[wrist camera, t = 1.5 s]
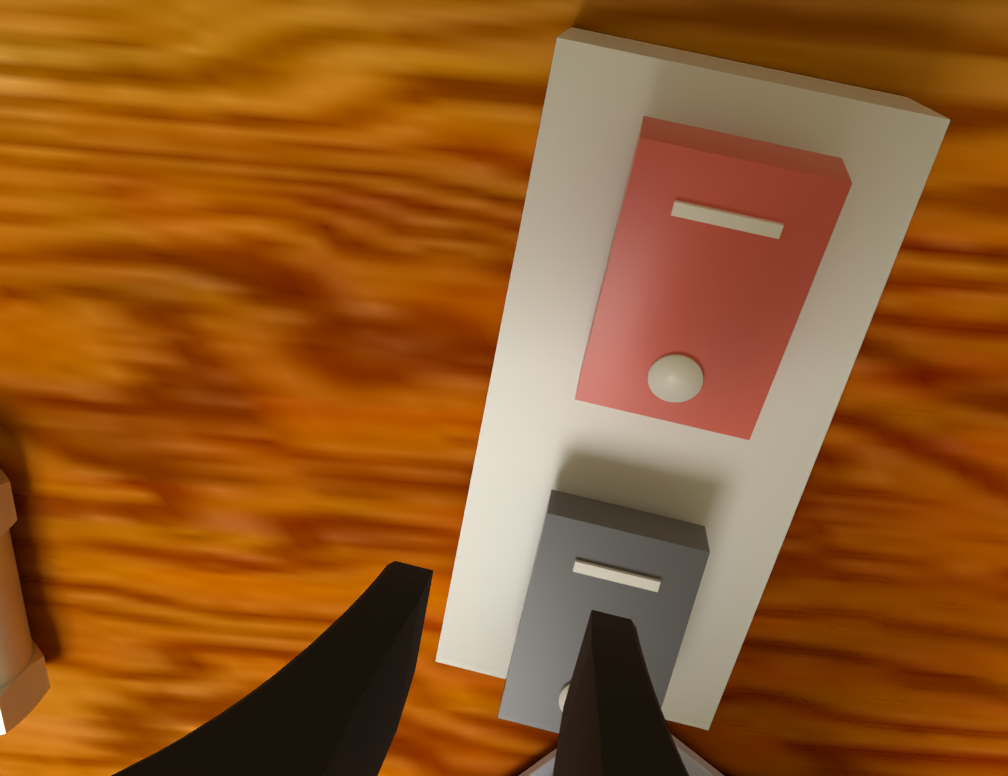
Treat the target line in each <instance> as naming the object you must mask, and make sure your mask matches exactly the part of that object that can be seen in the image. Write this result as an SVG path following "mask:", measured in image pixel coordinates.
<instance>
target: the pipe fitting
mask: <svg viewBox="0 0 1008 776" xmlns="http://www.w3.org/2000/svg"><path fill="white" fill-rule="evenodd" d="M16 521H17V515H16V510H15V505H14V500H13V495H12V489H11V484H10V481H9V479H8V478H7V477H6V475H5V474H4V472H3V471H2V470H1V469H0V735H2V734H5V733H7V732H8V731H10V730H11V729H12V728H14V727H15V726H16V725H17V724H19V723H20V722H21V721H22V720H23V719H24V718H25V717H26V716H27V715H28V714H29V713H30V712H31V711H32V710H33V709H34V707H35V706H36V705H37V704H38V703H39V702H40V700H41V699H42V698H43V696H44V695H45V694H46V692H47V691H48V689H49V688H50V685H49V679H48V674H47V669H46V664H45V659H44V655H43V654H42V652H41V651H40V649H39V648H38V646H37V645H36V643H35V642H34V641H33V639H32V638H31V635H30V630H29V625H28V620H27V615H26V610H25V605H24V600H23V595H22V590H21V585H20V580H19V575H18V570H17V565H16V560H15V555H14V550H13V545H12V540H11V535H10V530H9V529H10V527H11V526H12V525H13V524H14V523H15V522H16Z"/></svg>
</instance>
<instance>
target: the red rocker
mask: <svg viewBox="0 0 1008 776" xmlns="http://www.w3.org/2000/svg"><path fill="white" fill-rule="evenodd" d="M851 185H852V181H851V179H850V176H849V174H848V171H847V169H846V167H845V164H844V162H843V159H842V158H839V157H835V156H830V155H825V154H821V153H816V152H811V151H807V150H802V149H797V148H792V147H788V146H783V145H778V144H774V143H769V142H764V141H760V140H755V139H750V138H746V137H741V136H736V135H732V134H727V133H722V132H717V131H713V130H708V129H703V128H699V127H694V126H689V125H685V124H680V123H675V122H671V121H666V120H661V119H657V118H652V117H647V116H643V120H642V124H641V128H640V132H639V136H638V140H637V144H636V148H635V152H634V156H633V160H632V164H631V168H630V172H629V176H628V180H627V184H626V188H625V192H624V197H623V201H622V205H621V209H620V213H619V217H618V221H617V225H616V229H615V233H614V237H613V241H612V245H611V249H610V253H609V257H608V261H607V265H606V269H605V273H604V277H603V281H602V285H601V289H600V293H599V297H598V301H597V305H596V309H595V313H594V317H593V321H592V325H591V329H590V333H589V337H588V341H587V346H586V350H585V354H584V358H583V362H582V366H581V370H580V375H579V380H578V385H577V390H576V395H575V400H579V401H583V402H588V403H592V404H596V405H600V406H605V407H609V408H613V409H618V410H622V411H626V412H630V413H635V414H639V415H643V416H648V417H652V418H656V419H660V420H665V421H669V422H673V423H678V424H682V425H686V426H690V427H695V428H699V429H703V430H708V431H712V432H716V433H721V434H725V435H729V436H733V437H738V438H742V439H746V440H750V437H751V435H752V432H753V430H754V427H755V425H756V423H757V420H758V418H759V415H760V413H761V410H762V408H763V405H764V403H765V400H766V398H767V395H768V393H769V390H770V388H771V385H772V383H773V380H774V378H775V375H776V373H777V370H778V368H779V365H780V363H781V360H782V358H783V355H784V353H785V350H786V348H787V345H788V343H789V340H790V338H791V335H792V333H793V330H794V328H795V325H796V323H797V320H798V318H799V315H800V313H801V310H802V308H803V305H804V303H805V300H806V298H807V295H808V293H809V290H810V288H811V285H812V283H813V280H814V278H815V275H816V273H817V270H818V268H819V265H820V263H821V260H822V258H823V255H824V253H825V250H826V248H827V245H828V243H829V240H830V238H831V235H832V233H833V230H834V228H835V225H836V223H837V220H838V218H839V215H840V213H841V210H842V208H843V205H844V203H845V200H846V198H847V195H848V193H849V190H850V188H851Z"/></svg>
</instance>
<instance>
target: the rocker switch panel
mask: <svg viewBox="0 0 1008 776" xmlns="http://www.w3.org/2000/svg"><path fill="white" fill-rule="evenodd" d="M643 116H647V117H652V118H657V119H661V120H666V121H671V122H675V123H680V124H685V125H689V126H694V127H699V128H703V129H708V130H713V131H717V132H722V133H727V134H732V135H736V136H741V137H746V138H750V139H755V140H760V141H764V142H769V143H774V144H778V145H783V146H788V147H792V148H797V149H802V150H807V151H811V152H816V153H821V154H825V155H830V156H835V157H839V158H842V159H843V162H844V164H845V167H846V169H847V171H848V174H849V176H850V179H851V181H852V185H851V188H850V190H849V193H848V195H847V198H846V200H845V203H844V205H843V208H842V210H841V213H840V215H839V218H838V220H837V223H836V225H835V228H834V230H833V233H832V235H831V238H830V240H829V243H828V245H827V248H826V250H825V253H824V255H823V258H822V260H821V263H820V265H819V268H818V270H817V273H816V275H815V278H814V280H813V283H812V285H811V288H810V290H809V293H808V295H807V298H806V300H805V303H804V305H803V308H802V310H801V313H800V315H799V318H798V320H797V323H796V325H795V328H794V330H793V333H792V335H791V338H790V340H789V343H788V345H787V348H786V350H785V353H784V355H783V358H782V360H781V363H780V365H779V368H778V370H777V373H776V375H775V378H774V380H773V383H772V385H771V388H770V390H769V393H768V395H767V398H766V400H765V403H764V405H763V408H762V410H761V413H760V415H759V418H758V420H757V423H756V425H755V427H754V430H753V432H752V435H751V437H750V440H746V439H742V438H738V437H733V436H729V435H725V434H721V433H716V432H712V431H708V430H703V429H699V428H695V427H690V426H686V425H682V424H678V423H673V422H669V421H665V420H660V419H656V418H652V417H648V416H643V415H639V414H635V413H630V412H626V411H622V410H618V409H613V408H609V407H605V406H600V405H596V404H592V403H588V402H583V401H579V400H575V395H576V390H577V385H578V380H579V375H580V370H581V366H582V362H583V358H584V354H585V350H586V346H587V341H588V337H589V333H590V329H591V325H592V321H593V317H594V313H595V309H596V305H597V301H598V297H599V293H600V289H601V285H602V281H603V277H604V273H605V269H606V265H607V261H608V257H609V253H610V249H611V245H612V241H613V237H614V233H615V229H616V225H617V221H618V217H619V213H620V209H621V205H622V201H623V197H624V192H625V188H626V184H627V180H628V176H629V172H630V168H631V164H632V160H633V156H634V152H635V148H636V144H637V140H638V136H639V132H640V128H641V124H642V120H643ZM949 123H950V119H948V118H946V117H944V116H942V115H940V114H939V113H937V112H935V111H933V110H931V109H929V108H927V107H925V106H923V105H921V104H919V103H918V102H916V101H914V100H912V99H910V98H908V97H905V96H900V95H895V94H890V93H885V92H881V91H876V90H871V89H866V88H861V87H857V86H852V85H847V84H842V83H837V82H833V81H828V80H823V79H818V78H813V77H809V76H804V75H799V74H794V73H789V72H785V71H780V70H775V69H770V68H765V67H761V66H756V65H751V64H746V63H741V62H737V61H732V60H727V59H722V58H717V57H713V56H708V55H703V54H698V53H693V52H689V51H684V50H679V49H674V48H670V47H665V46H660V45H655V44H650V43H646V42H641V41H636V40H631V39H626V38H622V37H617V36H612V35H607V34H602V33H598V32H593V31H588V30H583V29H578V28H574V27H571V28H569V29H568V30H566V31H565V32H564V33H562V34H561V35H560V36H558V37H557V40H556V45H555V50H554V55H553V60H552V65H551V71H550V76H549V81H548V86H547V91H546V96H545V101H544V107H543V112H542V117H541V122H540V127H539V132H538V137H537V143H536V148H535V153H534V158H533V163H532V168H531V173H530V179H529V184H528V189H527V194H526V199H525V204H524V209H523V214H522V220H521V225H520V230H519V235H518V240H517V245H516V250H515V256H514V261H513V266H512V271H511V276H510V281H509V286H508V292H507V297H506V302H505V307H504V312H503V317H502V322H501V328H500V333H499V338H498V343H497V348H496V353H495V358H494V364H493V369H492V374H491V379H490V384H489V389H488V394H487V400H486V405H485V410H484V415H483V420H482V425H481V430H480V435H479V441H478V446H477V451H476V456H475V461H474V466H473V471H472V477H471V482H470V487H469V492H468V497H467V502H466V507H465V513H464V518H463V523H462V528H461V533H460V538H459V543H458V549H457V554H456V559H455V564H454V569H453V574H452V579H451V585H450V590H449V595H448V600H447V605H446V610H445V615H444V621H443V626H442V631H441V636H440V641H439V646H438V651H437V656H436V662H440V663H444V664H448V665H452V666H456V667H459V668H463V669H467V670H471V671H475V672H479V673H483V674H487V675H491V676H495V677H499V678H503V679H506V676H507V672H508V668H509V664H510V660H511V655H512V651H513V647H514V643H515V639H516V635H517V630H518V626H519V622H520V618H521V614H522V610H523V606H524V601H525V597H526V593H527V589H528V585H529V581H530V576H531V572H532V568H533V564H534V560H535V556H536V552H537V547H538V543H539V539H540V535H541V531H542V527H543V522H544V518H545V514H546V510H547V506H548V502H549V498H550V493H551V489H552V490H556V491H560V492H565V493H569V494H573V495H577V496H581V497H585V498H590V499H594V500H598V501H602V502H606V503H611V504H615V505H619V506H623V507H627V508H631V509H636V510H640V511H644V512H648V513H652V514H656V515H661V516H665V517H669V518H673V519H677V520H682V521H686V522H690V523H694V524H698V525H702V526H705V529H706V534H707V540H708V545H709V550H710V554H709V557H708V560H707V563H706V567H705V570H704V573H703V576H702V580H701V583H700V586H699V589H698V592H697V596H696V599H695V602H694V605H693V608H692V612H691V615H690V618H689V621H688V624H687V628H686V631H685V634H684V637H683V640H682V644H681V647H680V650H679V653H678V657H677V660H676V663H675V666H674V669H673V673H672V676H671V679H670V682H669V685H668V689H667V692H666V695H665V698H664V701H663V705H662V708H661V710H662V712H663V715H664V717H665V720H669V721H673V722H677V723H681V724H685V725H689V726H693V727H697V728H701V729H705V730H709V727H710V725H711V722H712V720H713V717H714V715H715V712H716V710H717V707H718V705H719V702H720V699H721V697H722V694H723V692H724V689H725V687H726V684H727V682H728V679H729V677H730V674H731V672H732V669H733V667H734V664H735V662H736V659H737V657H738V654H739V652H740V649H741V647H742V644H743V642H744V639H745V637H746V634H747V631H748V629H749V626H750V624H751V621H752V619H753V616H754V614H755V611H756V609H757V606H758V604H759V601H760V599H761V596H762V594H763V591H764V589H765V586H766V584H767V581H768V579H769V576H770V574H771V571H772V569H773V566H774V563H775V561H776V558H777V556H778V553H779V551H780V548H781V546H782V543H783V541H784V538H785V536H786V533H787V531H788V528H789V526H790V523H791V521H792V518H793V516H794V513H795V511H796V508H797V506H798V503H799V501H800V498H801V495H802V493H803V490H804V488H805V485H806V483H807V480H808V478H809V475H810V473H811V470H812V468H813V465H814V463H815V460H816V458H817V455H818V453H819V450H820V448H821V445H822V443H823V440H824V438H825V435H826V433H827V430H828V427H829V425H830V422H831V420H832V417H833V415H834V412H835V410H836V407H837V405H838V402H839V400H840V397H841V395H842V392H843V390H844V387H845V385H846V382H847V380H848V377H849V375H850V372H851V370H852V367H853V365H854V362H855V359H856V357H857V354H858V352H859V349H860V347H861V344H862V342H863V339H864V337H865V334H866V332H867V329H868V327H869V324H870V322H871V319H872V317H873V314H874V312H875V309H876V307H877V304H878V302H879V299H880V297H881V294H882V292H883V289H884V286H885V284H886V281H887V279H888V276H889V274H890V271H891V269H892V266H893V264H894V261H895V259H896V256H897V254H898V251H899V249H900V246H901V244H902V241H903V239H904V236H905V234H906V231H907V229H908V226H909V224H910V221H911V218H912V216H913V213H914V211H915V208H916V206H917V203H918V201H919V198H920V196H921V193H922V191H923V188H924V186H925V183H926V181H927V178H928V176H929V173H930V171H931V168H932V166H933V163H934V161H935V158H936V156H937V153H938V150H939V148H940V145H941V143H942V140H943V138H944V135H945V133H946V130H947V128H948V125H949Z"/></svg>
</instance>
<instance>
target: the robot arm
mask: <svg viewBox="0 0 1008 776" xmlns="http://www.w3.org/2000/svg"><path fill="white" fill-rule="evenodd" d="M432 575H433V570H429V569H425V568H421V567H417V566H413V565H409V564H405V563H401V562H397V561H394V562H392V563H390V564H388V565H387V566H386V567H385V568H384V570H383V571H382V572H381V574H380V575H379V576H378V577H377V578H376V579H375V581H374V582H373V583H372V584H371V585H370V586H369V587H368V589H367V590H366V591H365V592H364V593H363V594H362V595H361V596H360V597H359V598H358V599H357V600H356V601H355V602H354V603H353V604H352V606H351V607H350V608H349V609H348V610H347V611H346V612H345V613H344V614H343V615H342V616H341V617H339V618H338V619H337V620H336V621H335V622H334V623H333V624H332V625H331V626H330V627H329V628H328V629H327V630H326V631H325V632H324V633H323V634H321V635H320V636H319V637H318V638H317V639H316V640H315V641H314V642H313V643H312V644H311V645H309V646H308V647H307V648H306V649H305V650H304V651H302V652H301V653H300V654H299V655H298V656H296V657H295V658H294V659H293V660H292V661H290V662H289V663H288V664H287V665H286V666H284V667H283V668H282V669H281V670H280V671H278V672H277V673H276V674H275V675H273V676H272V677H271V678H270V679H268V680H267V681H266V682H264V683H263V684H262V685H260V686H259V687H258V688H257V689H255V690H254V691H252V692H251V693H250V694H248V695H247V696H246V697H244V698H243V699H241V700H240V701H238V702H237V703H236V704H234V705H233V706H231V707H230V708H228V709H227V710H225V711H224V712H222V713H221V714H219V715H218V716H216V717H215V718H213V719H212V720H210V721H208V722H207V723H205V724H204V725H202V726H200V727H199V728H197V729H196V730H194V731H192V732H191V733H189V734H188V735H186V736H184V737H183V738H181V739H179V740H178V741H176V742H174V743H172V744H171V745H169V746H167V747H165V748H164V749H162V750H160V751H158V752H157V753H155V754H153V755H151V756H149V757H147V758H145V759H143V760H141V761H139V762H137V763H135V764H133V765H131V766H129V767H127V768H125V769H123V770H121V771H119V772H118V773H116V774H114V775H112V776H377V775H378V773H379V771H380V768H381V766H382V764H383V761H384V759H385V757H386V754H387V752H388V749H389V747H390V745H391V742H392V740H393V738H394V735H395V733H396V731H397V728H398V724H399V721H400V718H401V715H402V711H403V708H404V705H405V702H406V698H407V695H408V692H409V689H410V685H411V682H412V679H413V675H414V672H415V668H416V663H417V657H418V652H419V646H420V641H421V635H422V630H423V624H424V619H425V613H426V608H427V602H428V597H429V591H430V586H431V580H432ZM519 776H724V775H723V774H721V773H720V772H719V771H718V770H716V769H715V768H714V767H712V766H711V765H710V764H709V763H707V762H706V761H705V760H704V759H702V758H701V757H700V756H698V755H697V754H696V753H695V752H693V751H692V750H691V749H690V748H688V747H687V746H686V745H685V744H683V743H682V742H681V741H679V740H678V739H677V738H676V737H674V736H673V735H672V734H671V733H670V730H669V728H668V725H667V723H666V720H665V717H664V715H663V712H662V710H661V707H660V705H659V702H658V699H657V696H656V694H655V691H654V688H653V685H652V682H651V679H650V676H649V673H648V670H647V666H646V663H645V660H644V656H643V653H642V649H641V645H640V641H639V637H638V633H637V628H636V626H635V625H634V623H633V621H632V620H631V619H628V618H624V617H620V616H616V615H611V614H607V613H603V612H599V611H595V610H591V613H590V617H589V620H588V624H587V627H586V631H585V634H584V638H583V641H582V644H581V648H580V651H579V655H578V658H577V662H576V665H575V669H574V672H573V675H572V679H571V682H570V686H569V689H568V693H567V696H566V700H565V703H564V707H563V712H562V718H561V725H560V731H559V737H558V743H557V748H556V749H555V750H553V751H552V752H551V753H549V754H548V755H546V756H545V757H544V758H542V759H541V760H540V761H538V762H537V763H535V764H534V765H533V766H531V767H530V768H528V769H527V770H526V771H524V772H523V773H521V774H520V775H519Z"/></svg>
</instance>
